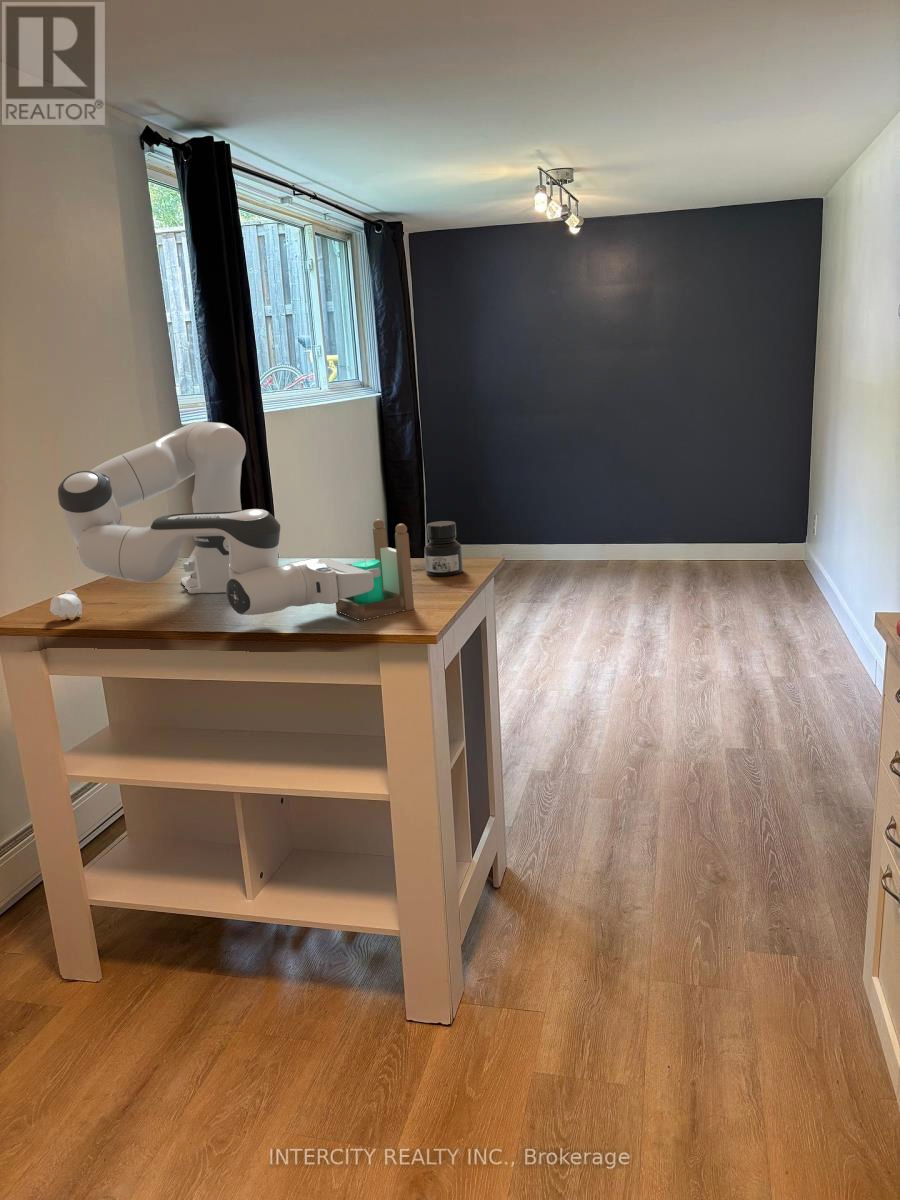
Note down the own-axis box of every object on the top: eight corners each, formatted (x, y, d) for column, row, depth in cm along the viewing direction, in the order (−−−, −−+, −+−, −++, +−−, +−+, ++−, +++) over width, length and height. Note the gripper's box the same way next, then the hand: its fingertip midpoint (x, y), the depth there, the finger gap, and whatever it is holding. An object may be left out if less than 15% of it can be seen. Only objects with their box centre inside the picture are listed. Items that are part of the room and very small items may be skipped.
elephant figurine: (62, 614, 209) (57, 589, 208) (94, 614, 208) (89, 588, 206) (43, 623, 203) (38, 597, 202) (75, 623, 201) (71, 596, 200)
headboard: (377, 601, 203) (370, 519, 198) (387, 599, 204) (380, 517, 200) (405, 611, 194) (398, 525, 189) (415, 608, 195) (408, 523, 190)
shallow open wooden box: (336, 611, 197) (335, 597, 196) (379, 601, 203) (378, 588, 202) (361, 621, 189) (359, 606, 188) (405, 610, 194) (404, 596, 193)
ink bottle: (419, 577, 222) (415, 527, 219) (431, 568, 231) (427, 520, 227) (458, 577, 219) (455, 527, 216) (469, 568, 228) (466, 519, 224)
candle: (389, 608, 197) (384, 552, 193) (375, 616, 191) (370, 558, 188) (364, 606, 199) (359, 551, 196) (350, 614, 194) (344, 557, 191)
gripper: (289, 588, 195) (348, 576, 203) (335, 605, 179) (397, 592, 186) (286, 558, 194) (345, 547, 201) (332, 573, 177) (394, 561, 185)
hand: (370, 569), depth 194 cm, fingers open, 5 cm apart
